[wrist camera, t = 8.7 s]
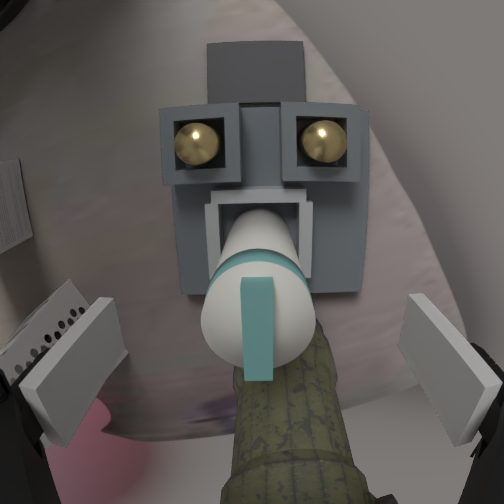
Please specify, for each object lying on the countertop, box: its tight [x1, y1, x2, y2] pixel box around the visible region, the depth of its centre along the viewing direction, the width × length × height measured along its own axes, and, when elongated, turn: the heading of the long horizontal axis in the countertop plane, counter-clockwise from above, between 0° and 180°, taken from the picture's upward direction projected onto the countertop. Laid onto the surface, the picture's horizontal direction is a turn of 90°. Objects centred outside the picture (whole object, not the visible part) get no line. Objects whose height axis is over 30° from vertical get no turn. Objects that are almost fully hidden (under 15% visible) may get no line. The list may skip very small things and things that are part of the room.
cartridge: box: [201, 206, 316, 381], centre depth 19 cm, size 5×5×15 cm
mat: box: [207, 41, 306, 104], centre depth 24 cm, size 6×8×1 cm
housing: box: [160, 102, 369, 295], centre depth 25 cm, size 16×16×5 cm
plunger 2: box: [298, 120, 347, 162], centre depth 22 cm, size 3×3×4 cm
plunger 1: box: [174, 123, 223, 165], centre depth 22 cm, size 3×3×4 cm
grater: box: [0, 279, 129, 449], centre depth 24 cm, size 10×10×20 cm
